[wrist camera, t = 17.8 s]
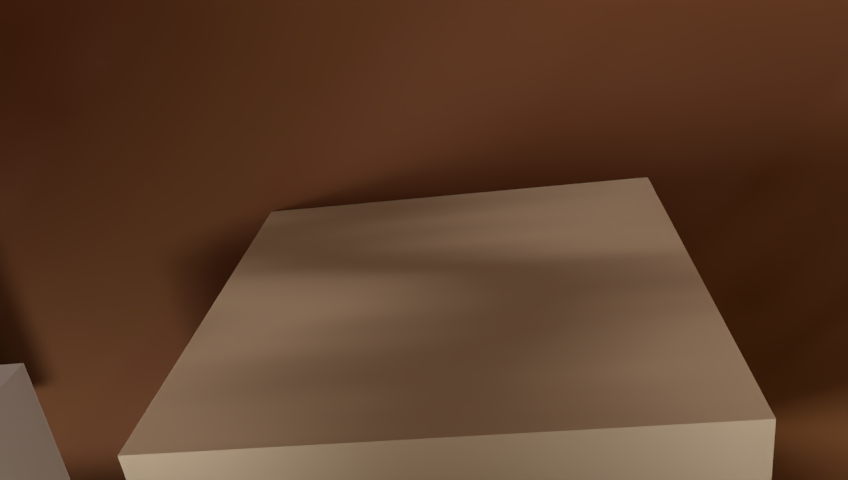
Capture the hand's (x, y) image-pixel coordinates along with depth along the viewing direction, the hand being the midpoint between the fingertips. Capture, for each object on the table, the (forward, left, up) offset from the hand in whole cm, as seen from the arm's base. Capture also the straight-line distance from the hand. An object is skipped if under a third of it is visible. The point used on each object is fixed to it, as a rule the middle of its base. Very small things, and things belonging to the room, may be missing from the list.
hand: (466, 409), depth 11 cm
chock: (0, 0, -2) cm, 2 cm away
